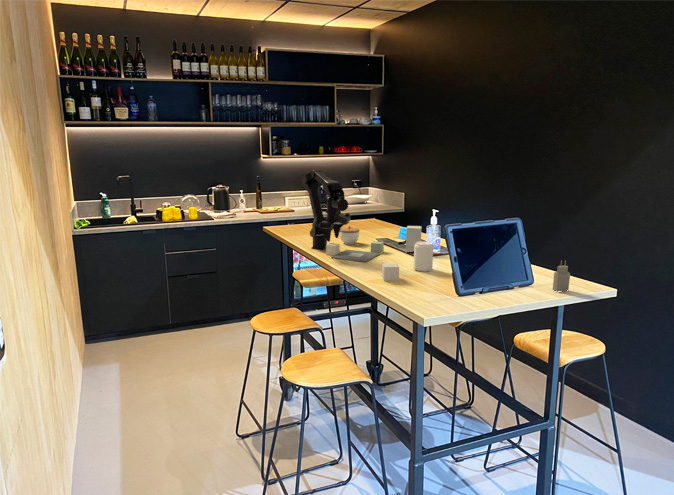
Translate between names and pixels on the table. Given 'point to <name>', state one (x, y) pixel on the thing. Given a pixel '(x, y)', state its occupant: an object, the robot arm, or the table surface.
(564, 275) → the power adapter
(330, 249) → the cream block
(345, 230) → the lidded jar
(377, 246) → the sage block
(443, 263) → the table surface
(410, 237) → the supplement box
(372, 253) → the mat
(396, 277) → the pinkish grey cube
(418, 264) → the beverage can
